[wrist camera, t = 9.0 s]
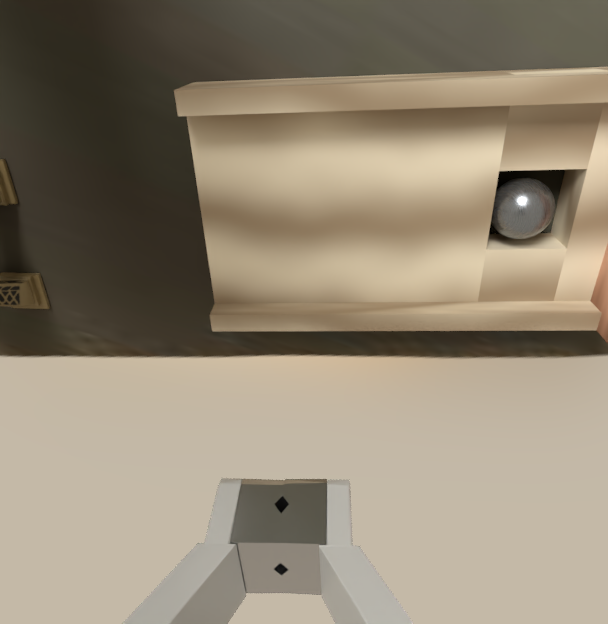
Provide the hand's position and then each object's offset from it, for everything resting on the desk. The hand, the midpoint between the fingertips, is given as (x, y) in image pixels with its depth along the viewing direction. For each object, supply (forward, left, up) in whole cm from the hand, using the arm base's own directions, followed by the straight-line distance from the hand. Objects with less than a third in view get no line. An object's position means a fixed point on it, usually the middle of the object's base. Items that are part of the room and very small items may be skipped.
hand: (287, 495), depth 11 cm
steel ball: (0, +12, -20) cm, 23 cm away
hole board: (0, +6, -22) cm, 23 cm away
